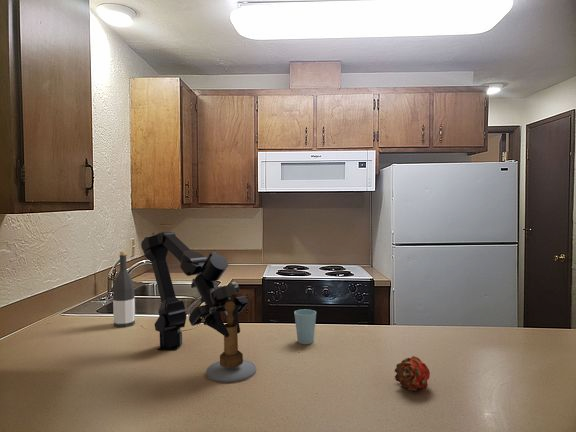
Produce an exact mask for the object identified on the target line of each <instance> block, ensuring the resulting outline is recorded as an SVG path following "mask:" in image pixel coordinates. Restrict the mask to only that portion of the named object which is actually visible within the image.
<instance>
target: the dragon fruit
mask: <svg viewBox="0 0 576 432" xmlns="http://www.w3.org/2000/svg"><path fill="white" fill-rule="evenodd" d="M430 372H431V371H430V369H429V368H428V366H427V364H426V363H424V362H423V361H422V360H421V359H420V358H419V357H417V356H415V355H413V356H411V357H406V358H404V359H403V360H402V361H400V363H397V364H396V366H395V368H394V373H396V374H395V375H394V379H395V381H396V382H399V383H400V385H401V386H403V387H405V388H406V390H408V391H411V392H416V391H417V390H418V389H420V390H422V389H423V390H426V389H427V387H428V380H429V379H430V378H431V377H430V375H431V373H430Z"/></svg>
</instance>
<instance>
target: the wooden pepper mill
mask: <svg viewBox="0 0 576 432" xmlns="http://www.w3.org/2000/svg"><path fill="white" fill-rule="evenodd" d="M224 307H225V310H226V311H227V315H226V316H227V317H226V316H225V317H226V319H225V321H226V322H227V323H224V325H225V327H226V329H227V331H228V333H229V336H228V337H225V336H224V335H223V347H224V348H223V352H222V353H221V354H220V355H219V361H220V365H221V366H223V367H226V368H232V367H237V366H239V365H241V364H242V363H243V360H244V357H243V356H244V354H243V352H241V351H240V350H239V348H238V347H239V345H238V343H239V342H238V341H239V339H238V333H237V324H236V323H233V321H234V316H233V314H232V313H233V311H234V309H235V303H234V302H233V300H230V301H227V302H226V303H225V306H224Z"/></svg>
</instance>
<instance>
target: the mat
mask: <svg viewBox="0 0 576 432" xmlns="http://www.w3.org/2000/svg"><path fill="white" fill-rule="evenodd" d="M256 373H257V366H256V364H255V363H254V362H252V361H250V360H246V359H243V363H242V364H241V365H239V366H237V367H232V368H226V367H223V366H221V365H220V360H219V361H215V362H214V363H211V364H210V365H209V366H208V367H207V368H206V376H207V378H208V379H210V380H211V381H213V382H217V383H221V384H222V383H225V384H226V383H227V384H228V383H229V384H231V383H239V382H242V381H243V382H244V381H247V380H249V379H250V378H252V377H254V376H255V374H256Z"/></svg>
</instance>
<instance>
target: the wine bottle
mask: <svg viewBox="0 0 576 432" xmlns="http://www.w3.org/2000/svg"><path fill="white" fill-rule="evenodd" d="M127 269H128V268H127V253H126V251H124V250H122V251H120V252H119V272H118V274H117V276H116V277H115V280H114V283H113V287H112V303H113V305H112V308H113V309H112V311H113V327H115V328H121V329H122V328H128V327H132V326H134V325H135V324H136V308H135V307H136V305H135V303H136V301H135V300H136V299H135V297H136V296H135V285H134V281H133V278H132V276H131V275H130V273H129V272H128V270H127Z"/></svg>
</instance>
